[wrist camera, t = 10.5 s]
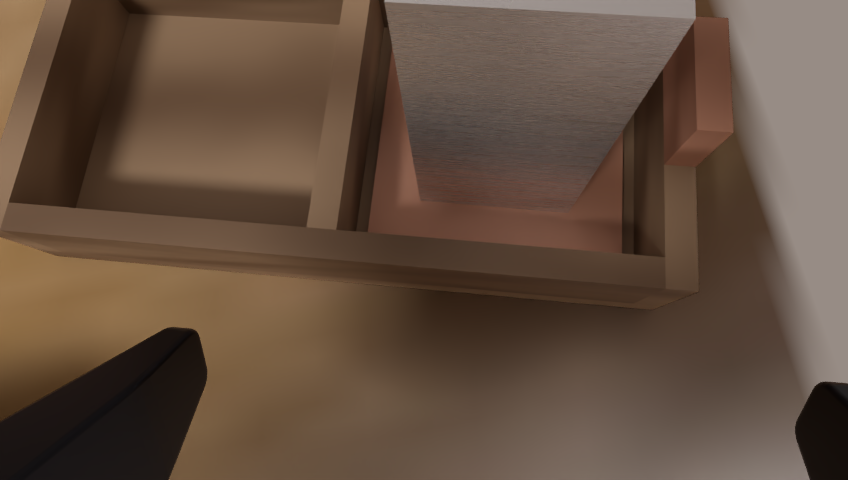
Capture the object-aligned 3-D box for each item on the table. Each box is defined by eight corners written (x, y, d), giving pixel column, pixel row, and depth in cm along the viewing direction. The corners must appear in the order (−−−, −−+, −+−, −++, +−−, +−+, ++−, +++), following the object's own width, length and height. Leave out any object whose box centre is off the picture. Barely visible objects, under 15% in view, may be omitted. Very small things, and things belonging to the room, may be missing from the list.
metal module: (568, 212, 16) (695, 18, 8) (420, 200, 17) (383, 2, 8) (573, 80, 18) (689, -218, 9) (434, 71, 18) (416, -224, 9)
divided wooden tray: (652, 310, 17) (739, 275, 11) (57, 255, 18) (-100, 204, 13) (650, 36, 19) (723, -94, 14) (126, 7, 20) (17, -118, 15)
